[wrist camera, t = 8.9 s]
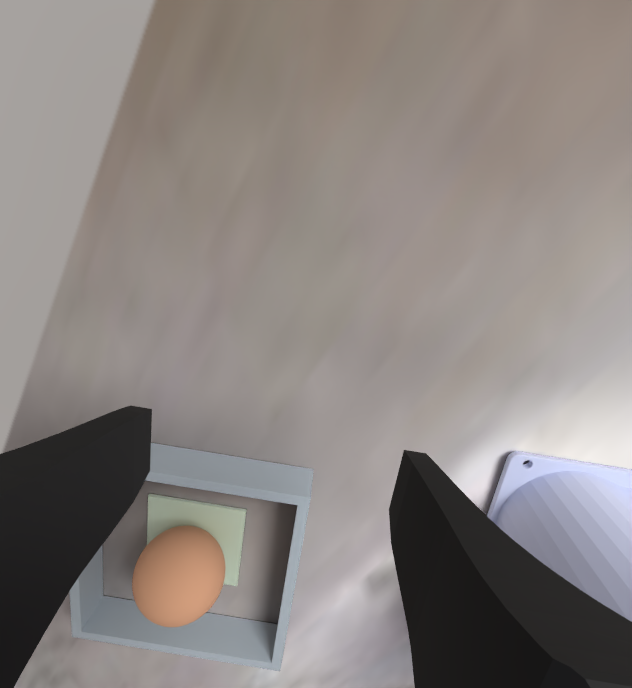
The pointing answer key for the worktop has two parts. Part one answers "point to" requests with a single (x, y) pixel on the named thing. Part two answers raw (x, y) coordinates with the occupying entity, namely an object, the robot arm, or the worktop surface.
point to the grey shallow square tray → (228, 529)
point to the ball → (178, 576)
